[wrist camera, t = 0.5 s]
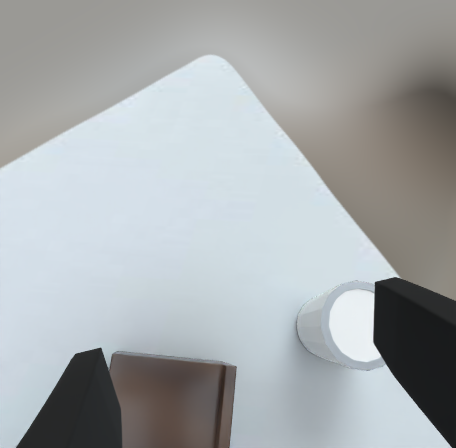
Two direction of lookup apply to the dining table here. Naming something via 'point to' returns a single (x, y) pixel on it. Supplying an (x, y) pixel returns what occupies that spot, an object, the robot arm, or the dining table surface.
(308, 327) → the white cup
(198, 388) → the shelf
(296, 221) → the dining table surface
